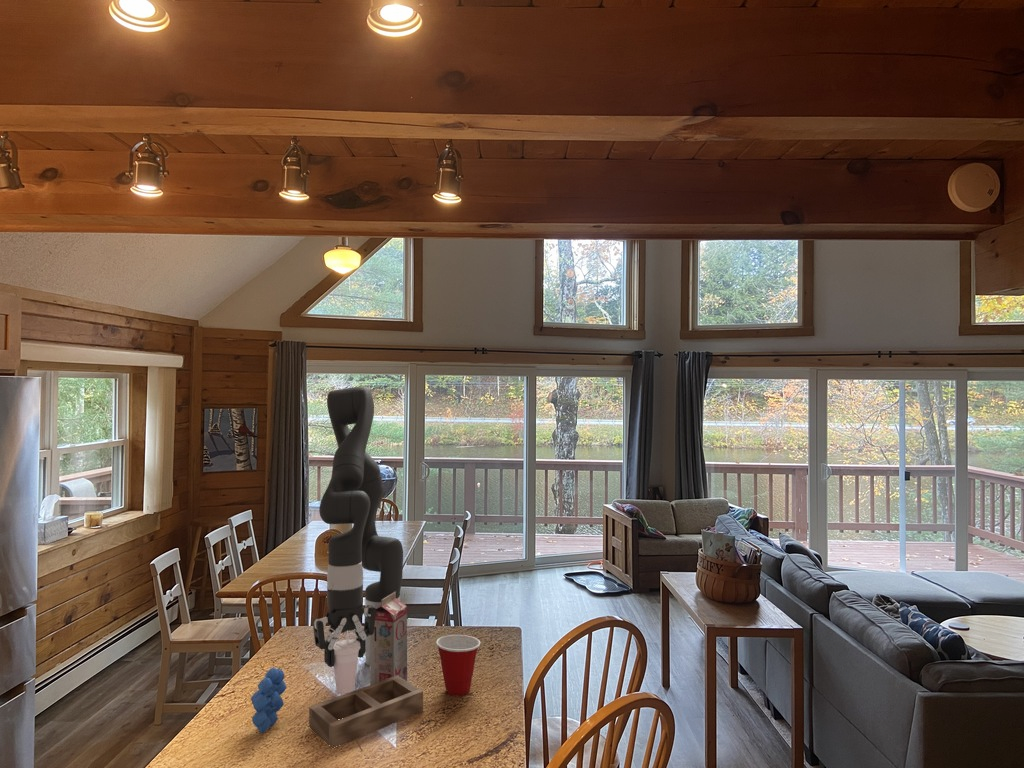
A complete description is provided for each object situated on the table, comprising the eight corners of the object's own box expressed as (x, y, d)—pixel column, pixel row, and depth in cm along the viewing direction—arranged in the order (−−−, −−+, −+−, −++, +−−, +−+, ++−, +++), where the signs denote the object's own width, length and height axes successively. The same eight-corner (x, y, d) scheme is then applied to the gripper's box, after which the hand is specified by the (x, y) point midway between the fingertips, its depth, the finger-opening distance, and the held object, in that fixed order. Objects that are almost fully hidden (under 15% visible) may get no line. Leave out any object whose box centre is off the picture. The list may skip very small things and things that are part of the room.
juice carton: (407, 680, 156) (406, 592, 156) (393, 693, 150) (393, 601, 150) (384, 677, 158) (383, 590, 158) (370, 688, 152) (369, 598, 152)
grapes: (264, 711, 141) (264, 658, 142) (293, 713, 141) (292, 659, 141) (236, 740, 130) (236, 682, 130) (266, 741, 129) (266, 683, 129)
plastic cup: (490, 689, 151) (489, 639, 151) (457, 705, 143) (456, 653, 143) (460, 675, 158) (459, 628, 159) (427, 690, 151) (426, 641, 151)
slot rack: (397, 693, 149) (397, 675, 149) (423, 711, 141) (423, 691, 141) (309, 727, 134) (309, 706, 134) (332, 749, 126) (332, 726, 126)
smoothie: (352, 698, 131) (352, 631, 131) (324, 695, 132) (324, 628, 132) (365, 684, 137) (365, 620, 137) (338, 681, 138) (338, 618, 138)
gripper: (366, 573, 142) (366, 646, 142) (305, 586, 133) (305, 665, 132) (383, 580, 137) (383, 657, 136) (321, 594, 127) (321, 677, 127)
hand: (345, 660), depth 134 cm, fingers closed on smoothie, 6 cm apart
